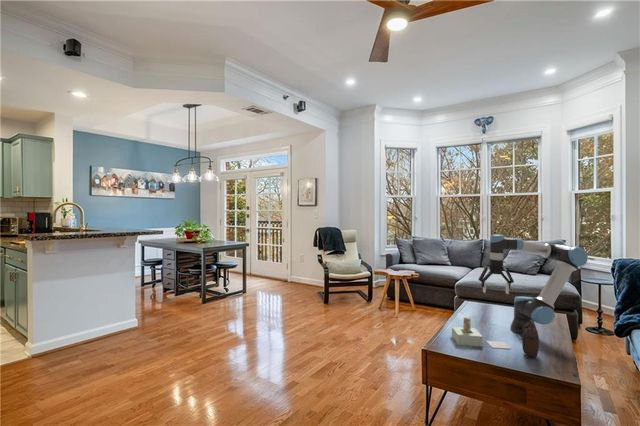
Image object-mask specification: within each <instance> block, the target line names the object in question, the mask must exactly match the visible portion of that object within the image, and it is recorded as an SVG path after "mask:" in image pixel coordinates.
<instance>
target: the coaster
mask: <svg viewBox="0 0 640 426" xmlns="http://www.w3.org/2000/svg"><path fill="white" fill-rule="evenodd" d="M485 342H486V343H487V344H488V345H489V347H490V348H492V349H499V350H500V349H501V350H511V348H510V347H509V346H508V345H507V344H506V343H505V342H504V341H497V340H496V341H495V340H486V341H485Z"/></svg>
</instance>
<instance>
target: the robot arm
mask: <svg viewBox="0 0 640 426" xmlns="http://www.w3.org/2000/svg"><path fill="white" fill-rule="evenodd" d="M489 238H490V239H489V251H490V252H489V266H486V265H485V266H484V267H483V270H482V272H481V274H480V276H479V277H478V281H480V282H481V288H482V292H483V293H484V294H486V292H487V291H486V290H487V282H486V281H488V279H489V278H490V277H491V276H493V275H500V276H502V278H503V279H504V280H505V281H506V282H505V294H506V295H509V294H510V289H511V284H512V283H514V282H515V280H514V279H513V276H512V274H511V273H510V269H509V267H507V266H505V267H504V251H516V252H520V253H527V254H531V255H532V254H533V255H537V256H541V257H542V258H544V259H549V260H552V261H555V262H556V266H555V268H554V270H553V271H552V273H551V275H550V276H549V278H548V279H547V282H546V283H545V285H544V286H543V288H542V289H541V291H540V294H538V296H537V297H536V296H535V297H532V296H519V295H518V296H515V297H514V301H513V319H512V322H511V323H510V330H511V331H512V332H514V333H517V334H519V335H520V334H521V335H523V331H524V329H525V328H524V325H525V324H526V323H529V321H530V320H532V322H533V324H534V325H535V326H536V323H537V324H539V325H549V324H551V323H552V322H553V321H554V319H555V311H554V310H555V306H554V304H555V302H556V300H557V298H558V296H559V295H560V294H561V292H562V290H563V289H564V287H565V285H566V284H567V281H568V280H569V278H570V276H571V275H572V273H573V272H575V271H578V268H579V267H583V266H585V265H586V264H587V263H588V259H589V257H588V253H587V252H586V250H585V249H584V248H582V247H581V246H580V247H579V246H576V245H568V244H558V243H557V244H554V243H537V242H532V241H526V240H523V239H522V238H520V237H519V238H518V237H515V238H513V237H505V236H504V234H491V235H490V237H489ZM488 270H489V271H488ZM504 271H505V274H506V275H505V274H504ZM487 272H488V273H487ZM536 330H537V331H538V329H537V328H536Z"/></svg>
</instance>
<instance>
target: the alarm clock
mask: <svg viewBox="0 0 640 426" xmlns="http://www.w3.org/2000/svg"><path fill="white" fill-rule="evenodd" d="M524 328H525V329H524V331H523V334H522V337H521V339H522V342H521V344H522V351H523V354H524V355H525V357H526V359H527V360H528V357H529V356H530V357H534V359H535V360H536V359H537V358H536V357H538V353H539V349H540V344H539V343H540V339H539V333H538V329H537V326H536V324H535V325H534V324H533V322H532V320H530V321H529V323H526V324H525V325H524ZM536 329H537V330H536Z"/></svg>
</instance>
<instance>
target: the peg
mask: <svg viewBox="0 0 640 426" xmlns="http://www.w3.org/2000/svg"><path fill="white" fill-rule="evenodd" d="M471 321H472V319H471V318H470V317H466V316H464V317H463V325H462V326H463V333H470V329H471V328H472V327H471V323H472V322H471Z"/></svg>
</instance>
